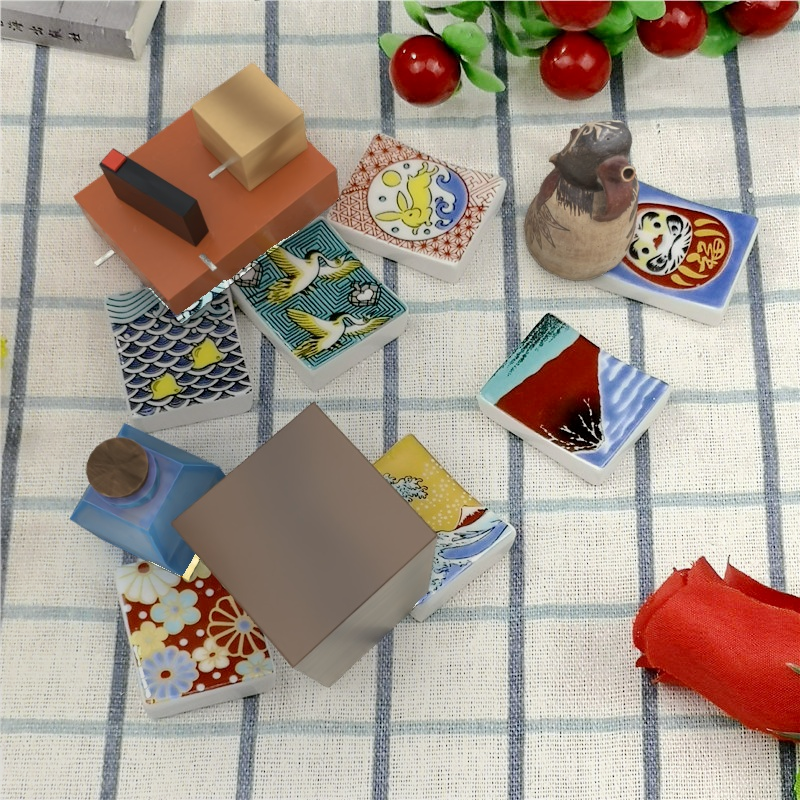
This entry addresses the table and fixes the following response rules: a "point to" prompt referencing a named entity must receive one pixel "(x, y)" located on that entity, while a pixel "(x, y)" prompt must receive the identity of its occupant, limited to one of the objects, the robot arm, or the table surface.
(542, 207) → the figurine
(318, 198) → the block
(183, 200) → the black battery block
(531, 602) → the table surface
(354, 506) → the block
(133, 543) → the perfume bottle
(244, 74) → the wood block
